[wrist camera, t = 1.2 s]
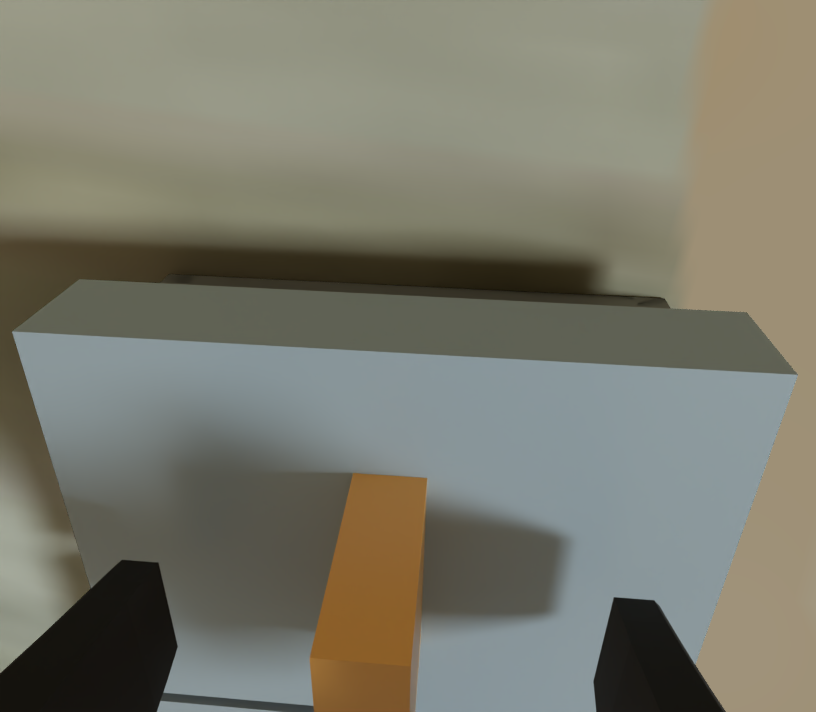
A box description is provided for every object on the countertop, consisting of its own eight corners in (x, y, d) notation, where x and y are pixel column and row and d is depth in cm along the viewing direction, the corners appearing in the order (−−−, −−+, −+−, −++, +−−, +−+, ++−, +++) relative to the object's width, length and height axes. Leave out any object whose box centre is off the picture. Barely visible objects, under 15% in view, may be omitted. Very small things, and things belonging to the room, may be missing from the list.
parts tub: (559, 763, 21) (573, 882, 18) (246, 734, 22) (213, 845, 19) (664, 298, 13) (716, 384, 10) (168, 273, 14) (93, 349, 11)
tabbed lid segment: (646, 651, 15) (724, 948, 11) (159, 611, 16) (30, 874, 11) (747, 312, 11) (948, 558, 6) (79, 279, 12) (-178, 478, 7)
